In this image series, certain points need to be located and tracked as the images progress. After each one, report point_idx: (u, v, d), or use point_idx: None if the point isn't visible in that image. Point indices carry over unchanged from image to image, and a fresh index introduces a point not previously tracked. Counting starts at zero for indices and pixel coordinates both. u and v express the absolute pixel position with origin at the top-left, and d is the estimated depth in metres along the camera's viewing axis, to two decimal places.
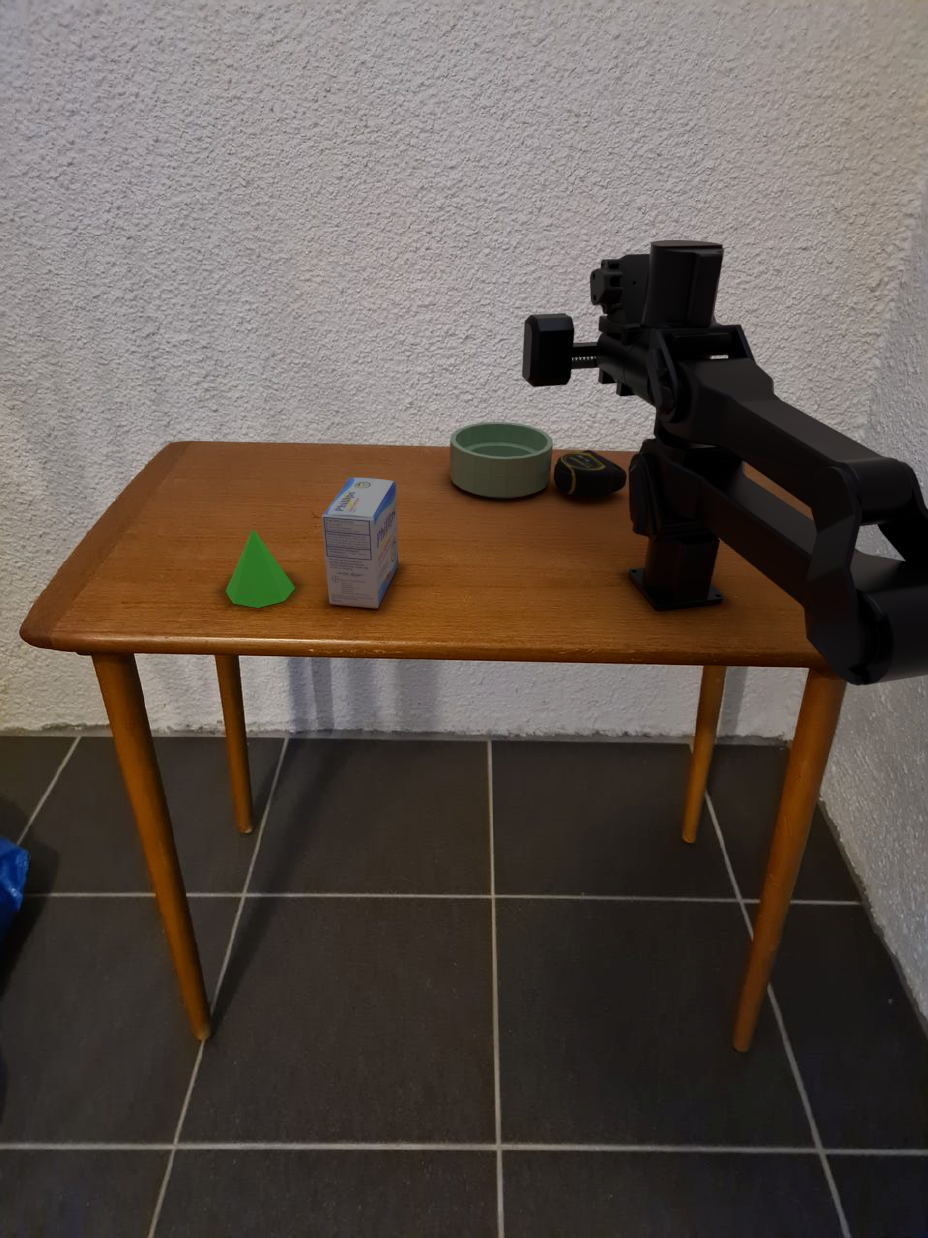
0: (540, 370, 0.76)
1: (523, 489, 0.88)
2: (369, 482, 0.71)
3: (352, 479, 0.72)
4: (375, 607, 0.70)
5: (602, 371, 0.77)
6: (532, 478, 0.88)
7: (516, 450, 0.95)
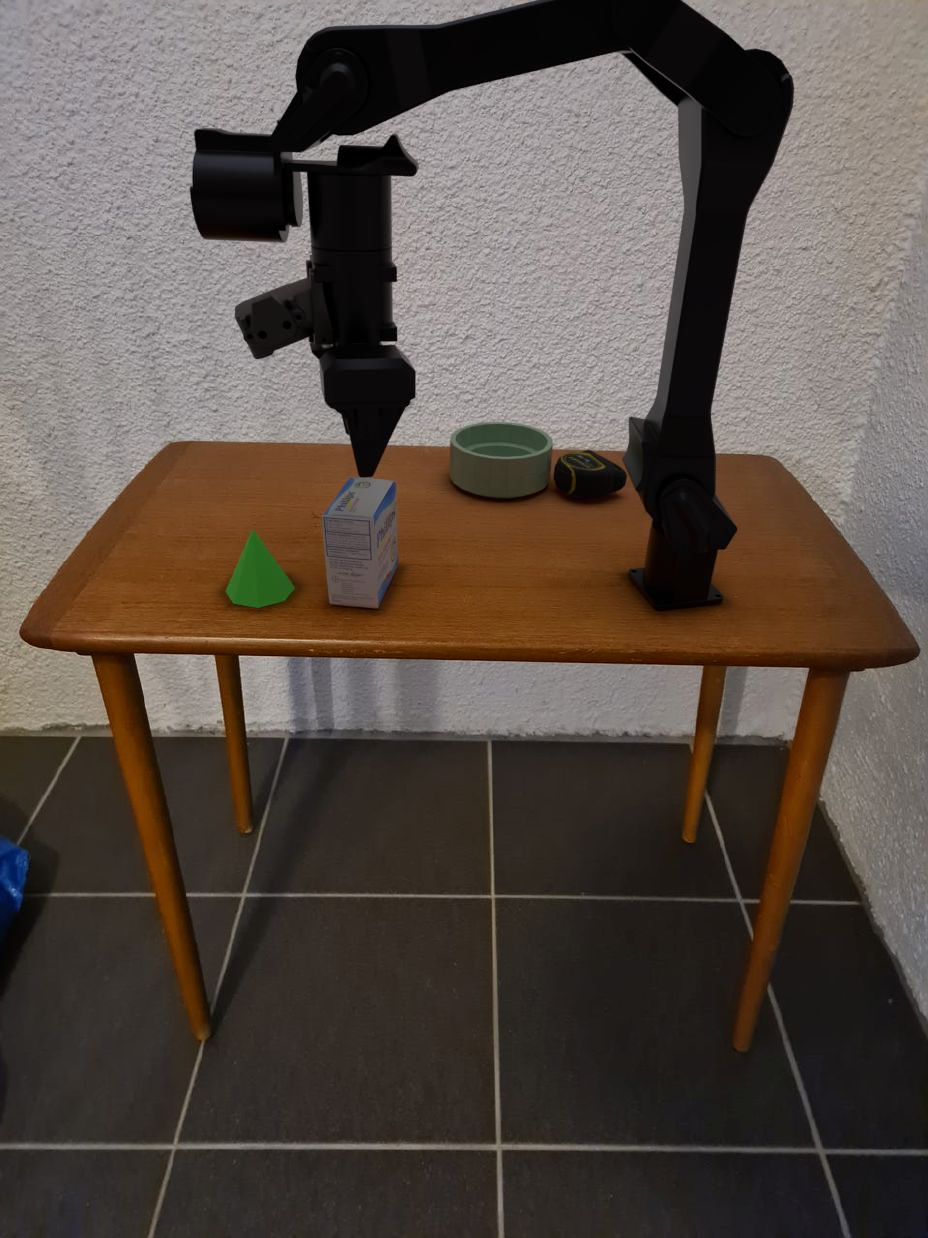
0: (389, 357, 0.55)
1: (523, 489, 0.88)
2: (369, 482, 0.71)
3: (352, 479, 0.72)
4: (375, 607, 0.70)
5: (381, 332, 0.60)
6: (532, 478, 0.88)
7: (516, 450, 0.95)
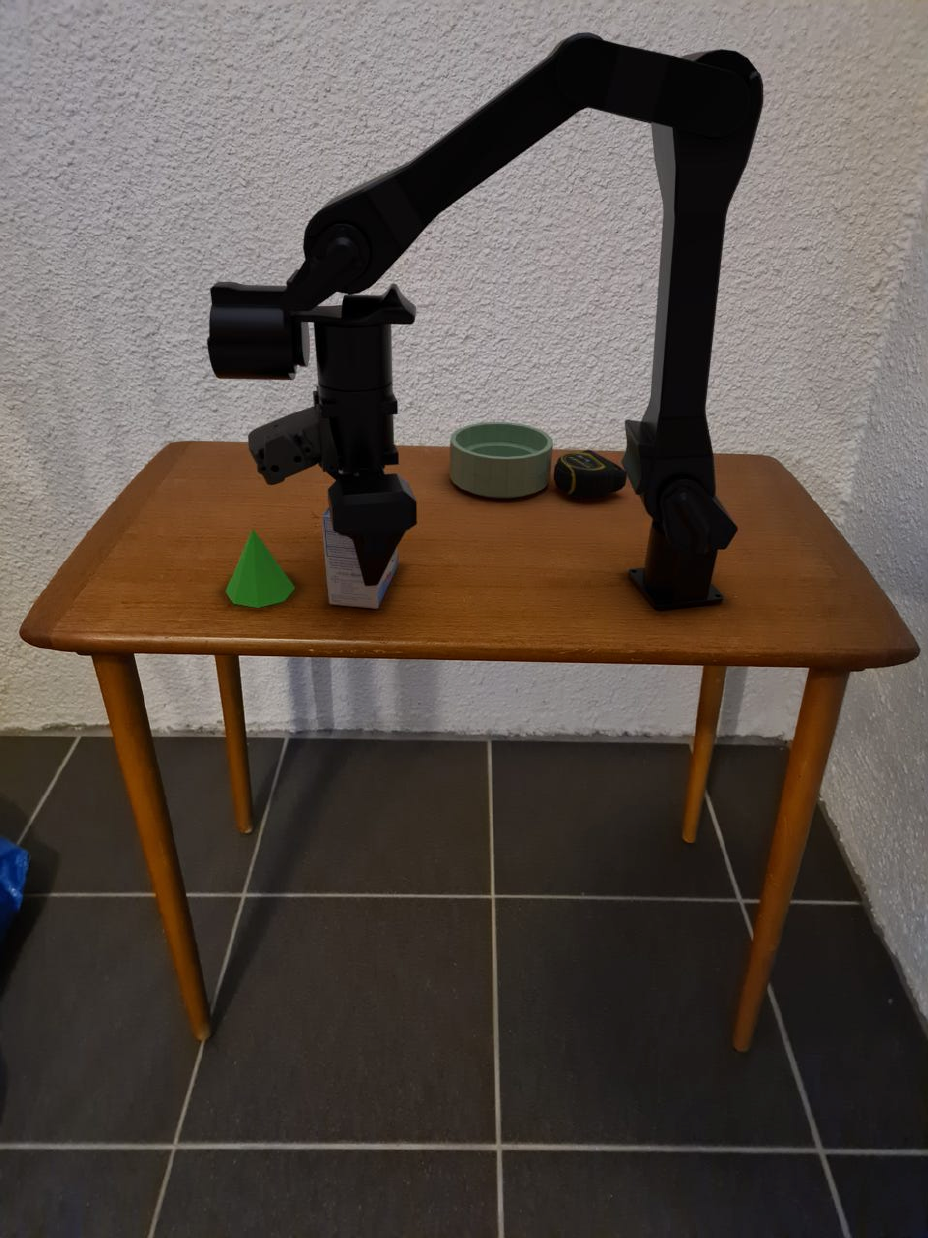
0: (392, 490, 0.60)
1: (523, 489, 0.88)
2: None
3: None
4: (375, 607, 0.70)
5: (384, 457, 0.65)
6: (532, 478, 0.88)
7: (516, 450, 0.95)
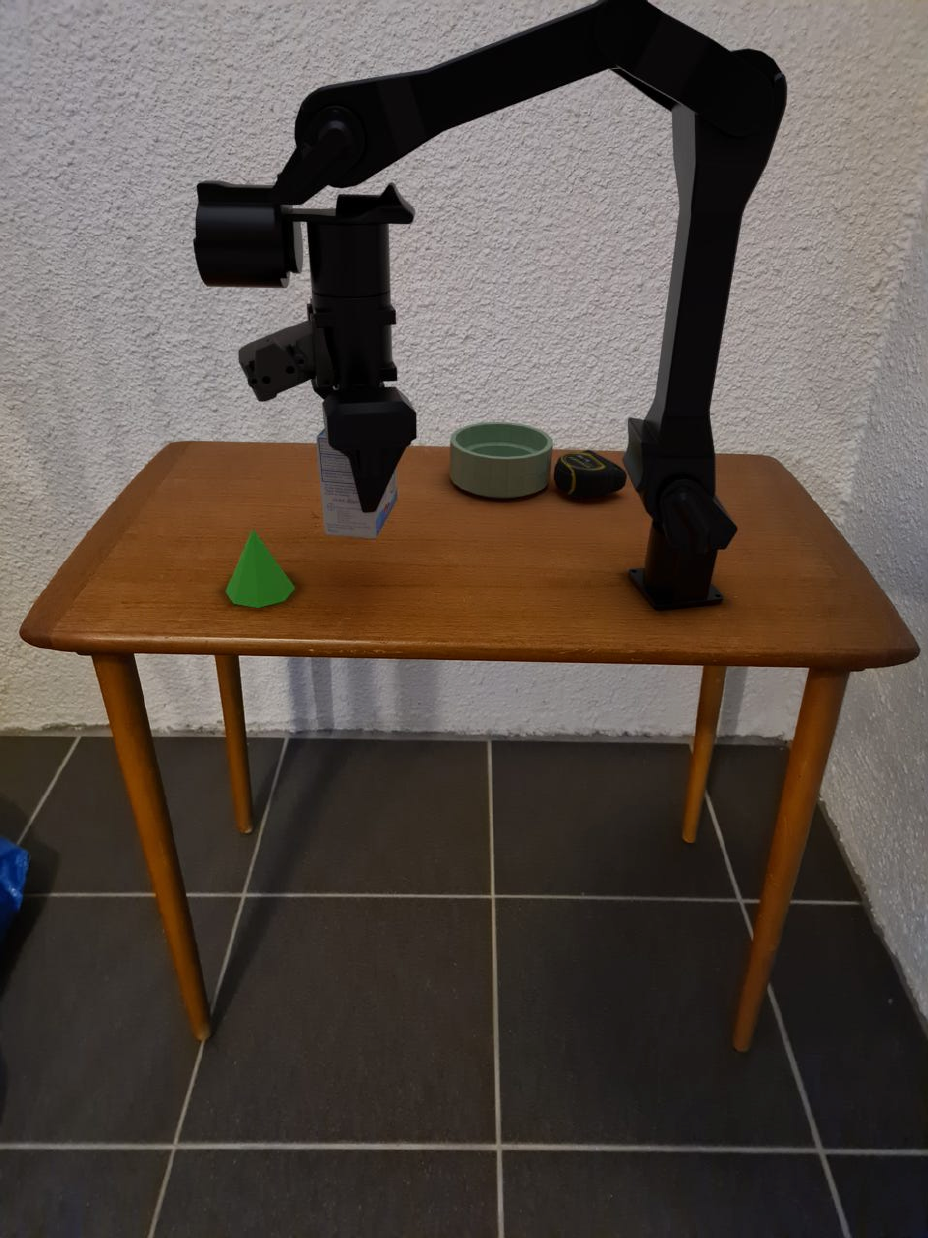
0: (390, 400, 0.56)
1: (523, 489, 0.88)
2: None
3: None
4: (373, 537, 0.66)
5: (381, 372, 0.61)
6: (532, 478, 0.88)
7: (516, 450, 0.95)
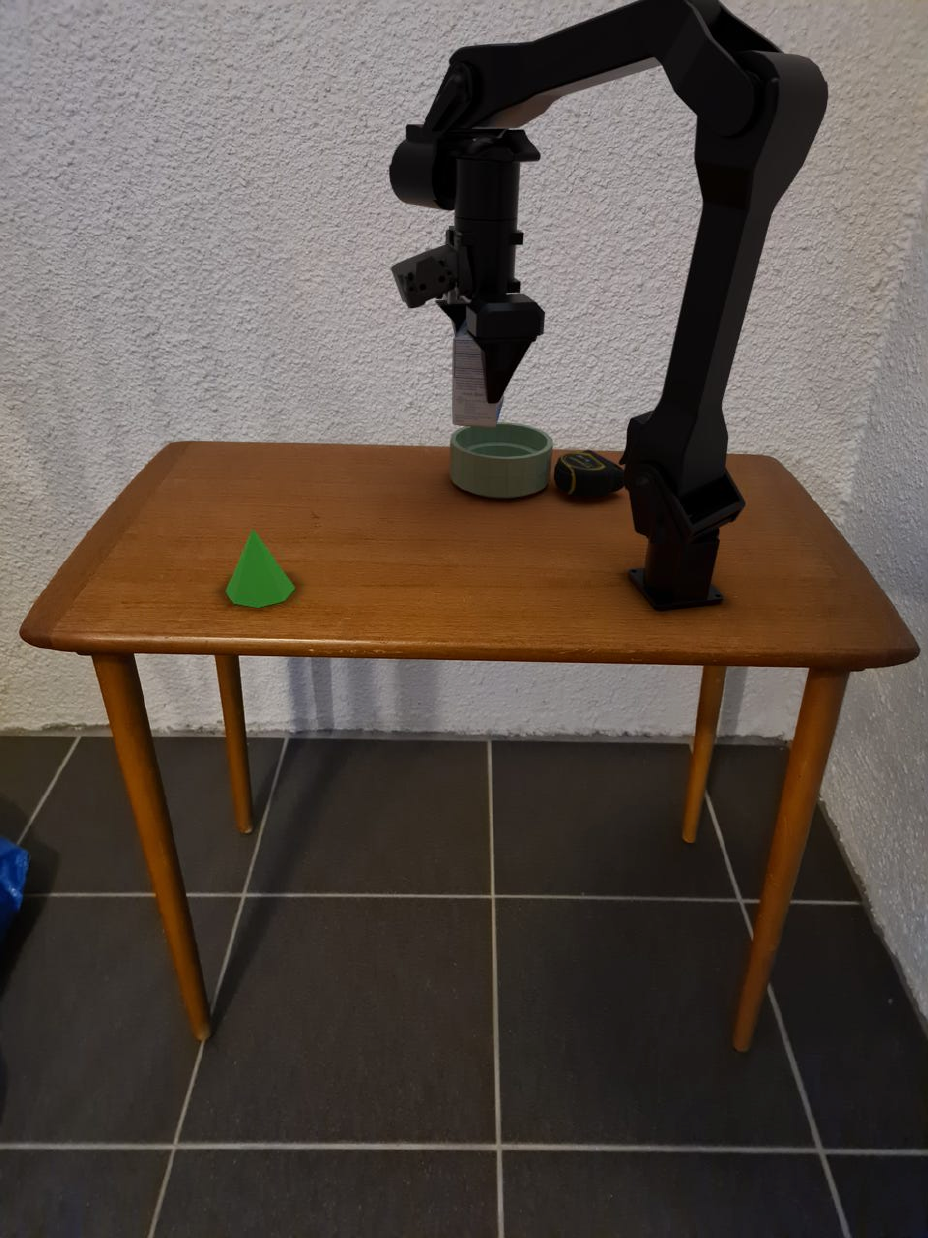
0: (525, 301, 0.71)
1: (523, 489, 0.88)
2: None
3: None
4: (493, 426, 0.81)
5: (508, 285, 0.76)
6: (532, 478, 0.88)
7: (516, 450, 0.95)
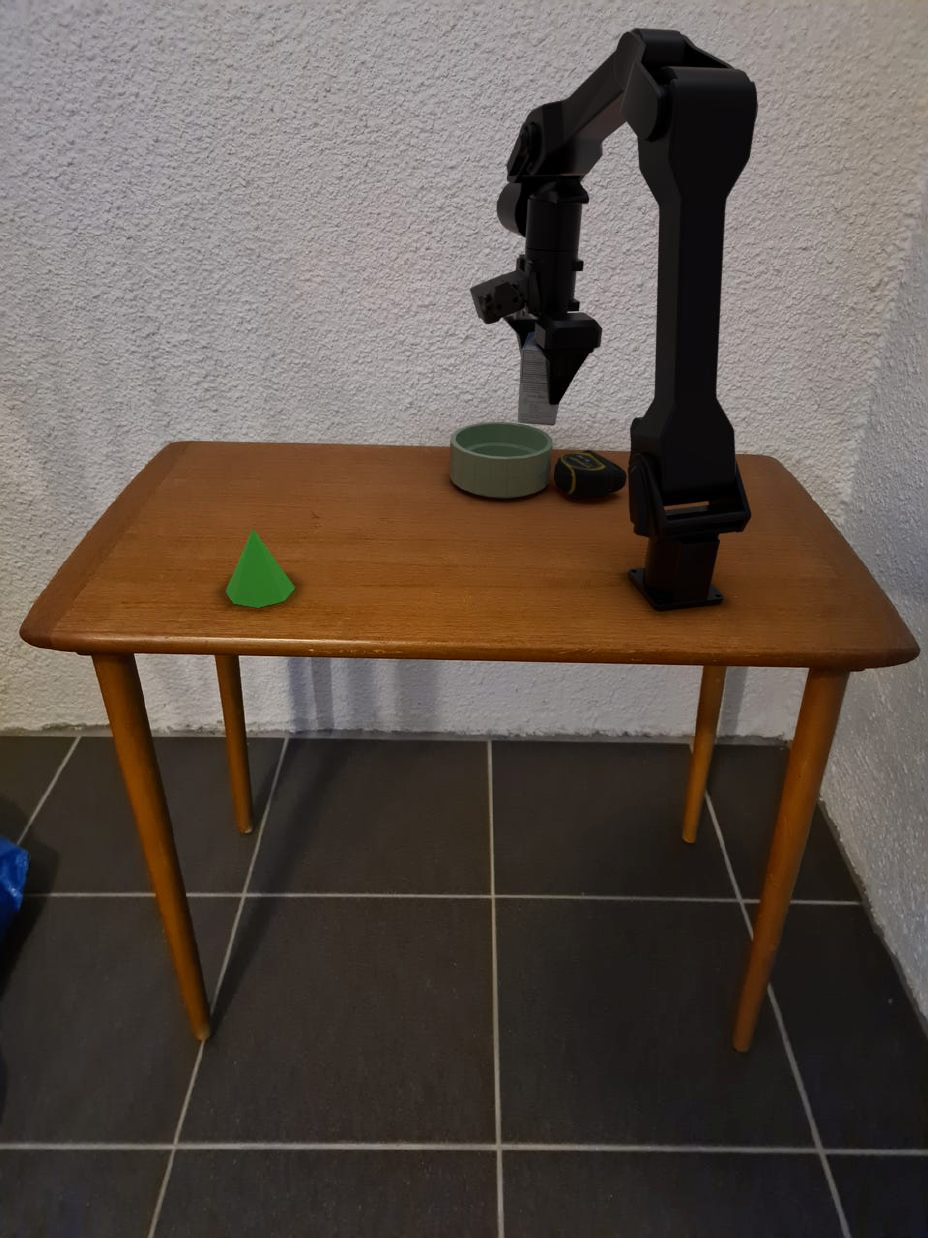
0: (586, 319, 0.84)
1: (523, 489, 0.88)
2: None
3: (532, 332, 0.96)
4: (552, 424, 0.94)
5: (569, 304, 0.89)
6: (532, 478, 0.88)
7: (516, 450, 0.95)
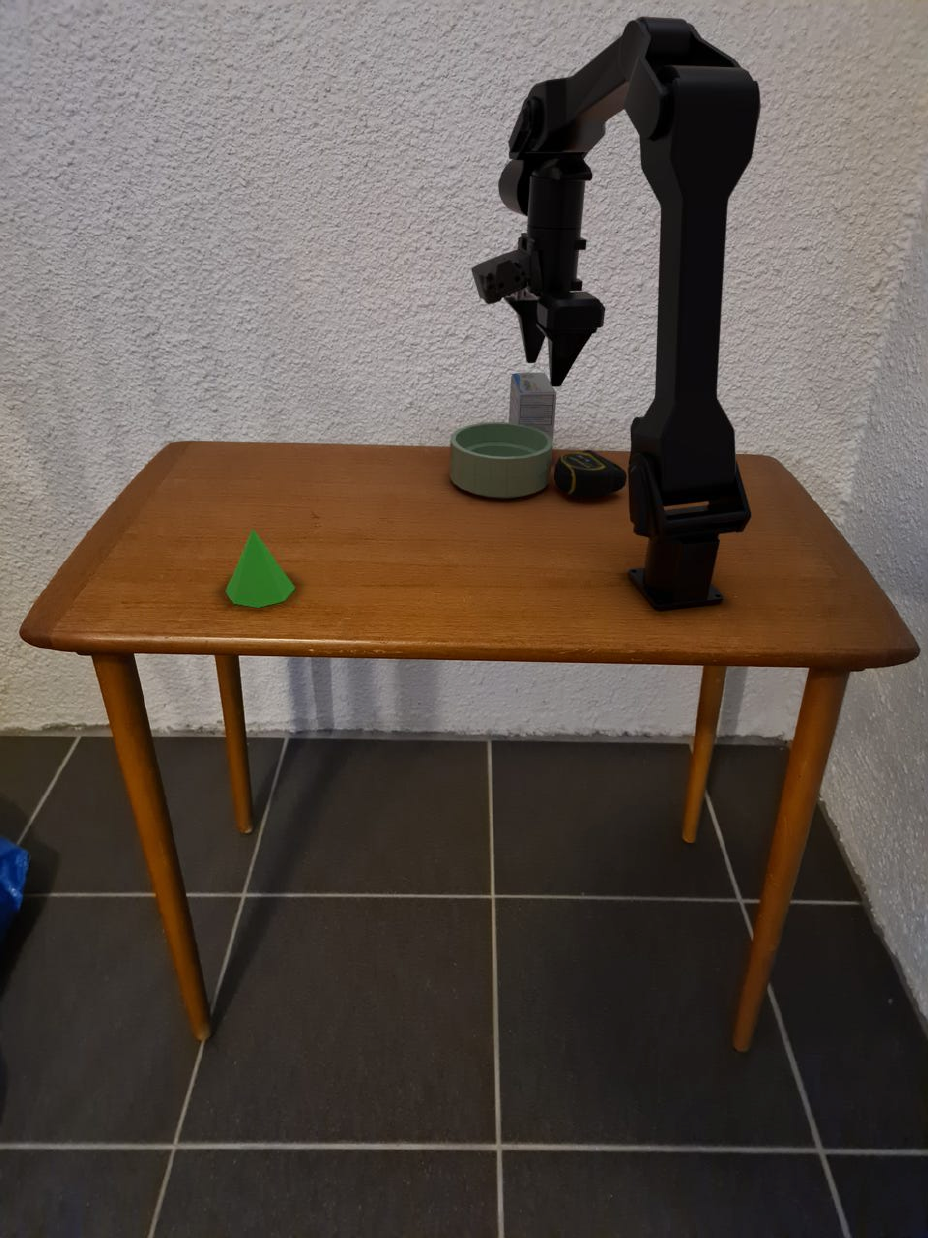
0: (589, 298, 0.83)
1: (523, 489, 0.88)
2: (530, 374, 0.99)
3: (516, 374, 0.99)
4: None
5: (572, 284, 0.88)
6: (532, 478, 0.88)
7: (516, 450, 0.95)
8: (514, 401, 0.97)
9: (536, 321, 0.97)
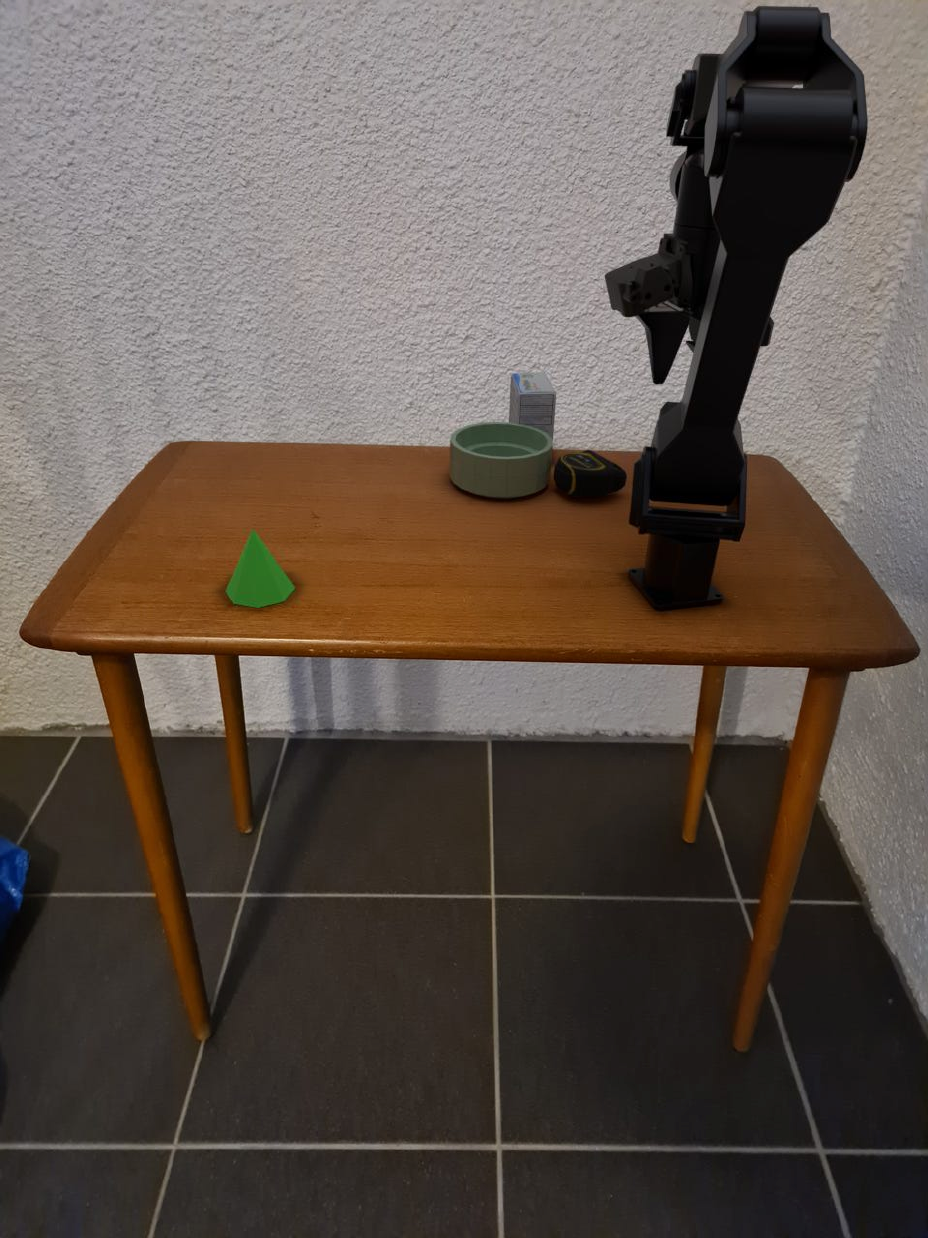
0: None
1: (523, 489, 0.88)
2: (530, 374, 0.99)
3: (516, 374, 0.99)
4: None
5: None
6: (532, 478, 0.88)
7: (516, 450, 0.95)
8: (514, 401, 0.97)
9: (667, 336, 0.83)
